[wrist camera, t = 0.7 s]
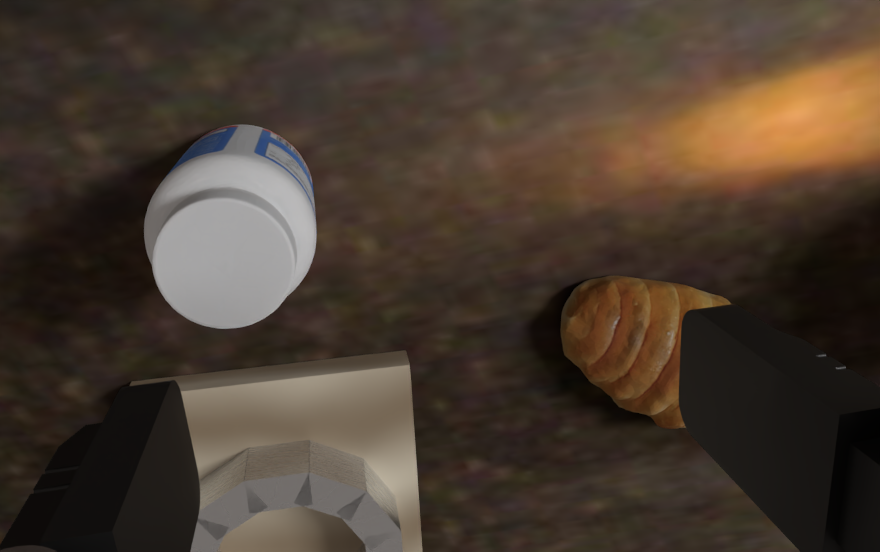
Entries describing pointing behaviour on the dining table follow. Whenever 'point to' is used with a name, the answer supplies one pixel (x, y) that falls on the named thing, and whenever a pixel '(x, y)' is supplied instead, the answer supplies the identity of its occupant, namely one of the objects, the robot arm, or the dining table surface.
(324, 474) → the ring collar
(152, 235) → the pill bottle
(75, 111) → the dining table surface
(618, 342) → the pastry
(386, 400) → the ring plate
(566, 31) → the dining table surface
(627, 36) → the dining table surface
